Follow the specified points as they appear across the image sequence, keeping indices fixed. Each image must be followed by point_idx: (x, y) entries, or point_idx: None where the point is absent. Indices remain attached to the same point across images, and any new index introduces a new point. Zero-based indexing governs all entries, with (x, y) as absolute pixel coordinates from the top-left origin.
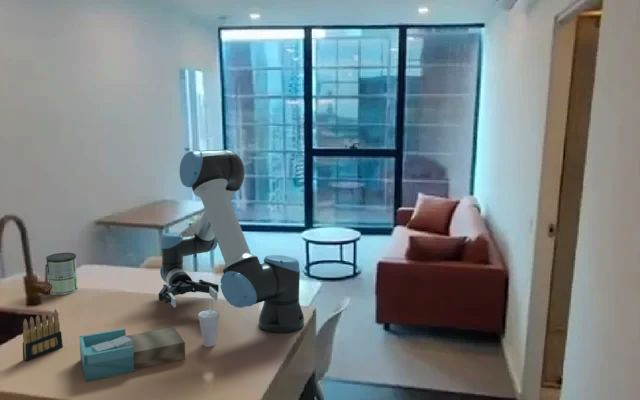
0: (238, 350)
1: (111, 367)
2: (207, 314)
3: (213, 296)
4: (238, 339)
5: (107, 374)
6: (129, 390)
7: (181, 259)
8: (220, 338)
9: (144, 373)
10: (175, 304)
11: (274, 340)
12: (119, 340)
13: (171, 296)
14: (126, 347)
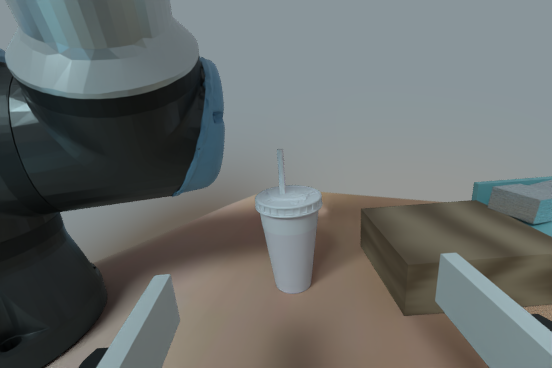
0: (240, 247)
1: None
2: (294, 190)
3: (163, 338)
4: (209, 283)
5: None
6: None
7: None
8: (251, 300)
9: None
10: (440, 285)
11: (142, 260)
12: (534, 192)
13: (503, 293)
14: (489, 182)
